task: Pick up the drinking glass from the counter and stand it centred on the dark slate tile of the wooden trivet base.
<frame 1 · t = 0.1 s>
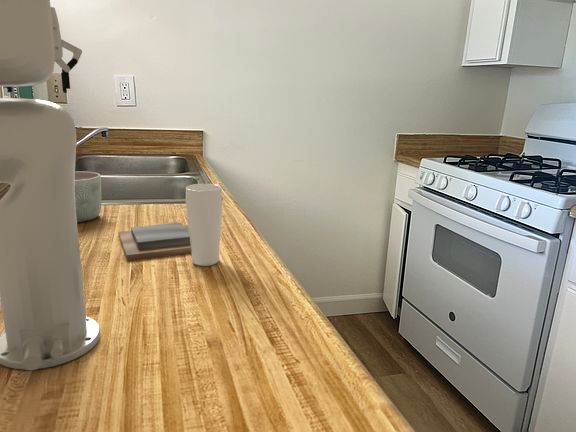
hand: (38, 92, 95), 31 cm above the worktop, fingers open, 9 cm apart
drinking glass: (205, 263, 94), on the worktop
planter: (77, 219, 121), on the worktop
trivet base: (161, 243, 104), on the worktop
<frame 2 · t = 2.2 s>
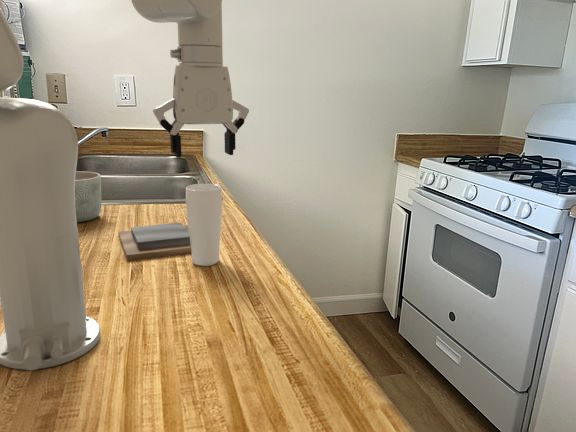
hand: (203, 155, 88), 21 cm above the worktop, fingers open, 9 cm apart
nothing on the worktop moved.
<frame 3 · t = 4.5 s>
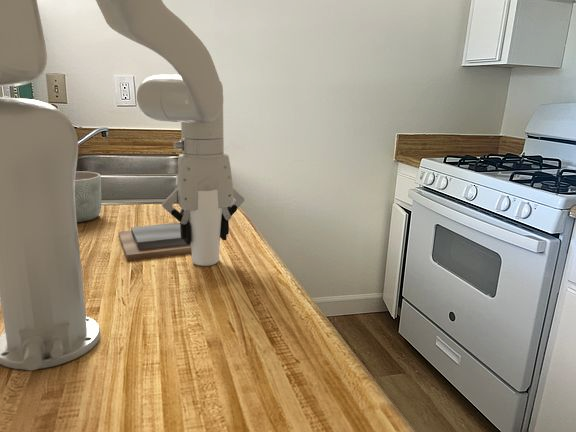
hand: (205, 239, 92), 5 cm above the worktop, fingers closed on drinking glass, 6 cm apart
drinking glass: (205, 263, 94), on the worktop, touching gripper
everything else where it was.
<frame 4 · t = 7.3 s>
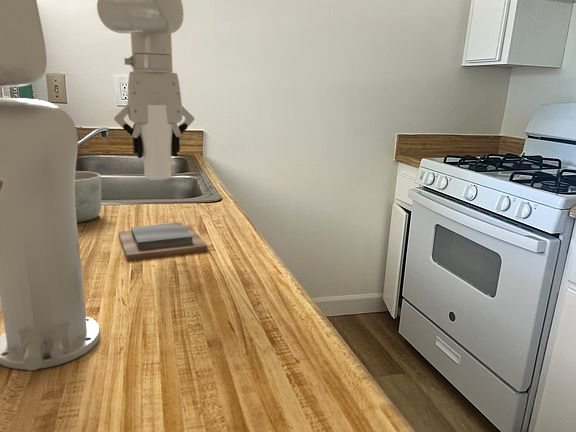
hand: (157, 155, 98), 19 cm above the worktop, fingers closed on drinking glass, 6 cm apart
drinking glass: (158, 178, 100), point 14 cm above the worktop, touching gripper
everything else where it was.
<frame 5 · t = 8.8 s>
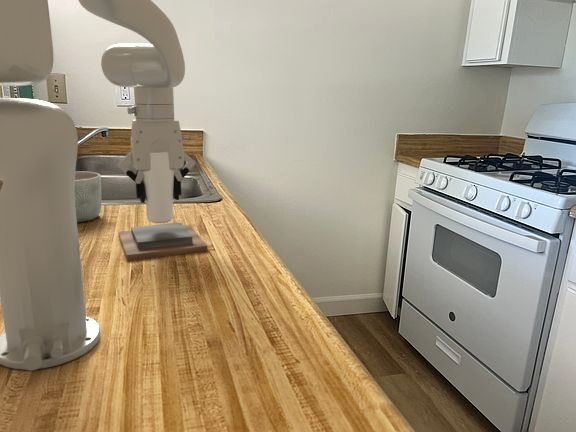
hand: (159, 199, 101), 10 cm above the worktop, fingers closed on drinking glass, 6 cm apart
drinking glass: (160, 221, 102), point 5 cm above the worktop, touching gripper
everything else where it was.
when the fingers open (8 cm above the worktop, at t = 10.1 s): drinking glass stays where it is, resting on trivet base.
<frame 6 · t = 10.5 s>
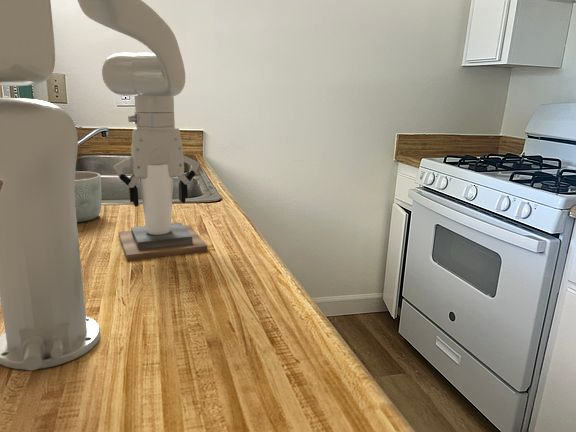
hand: (159, 203, 101), 9 cm above the worktop, fingers open, 9 cm apart
drinking glass: (158, 233, 103), point 3 cm above the worktop, touching trivet base
everything else where it was.
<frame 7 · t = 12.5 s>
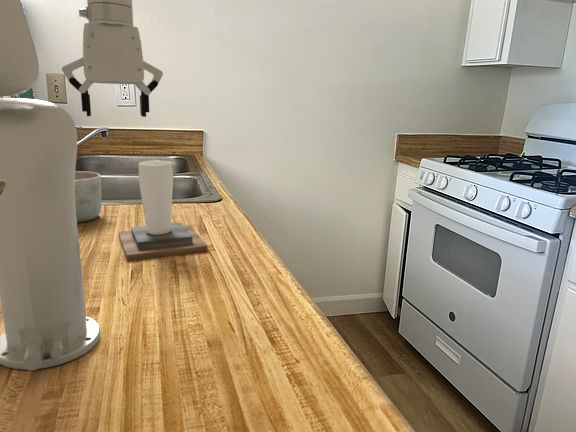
hand: (116, 116, 89), 27 cm above the worktop, fingers open, 9 cm apart
nothing on the worktop moved.
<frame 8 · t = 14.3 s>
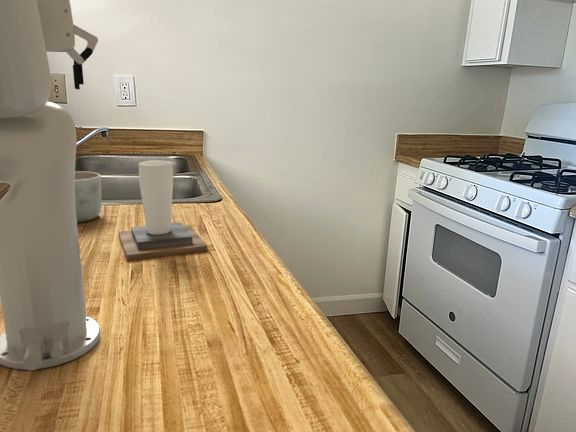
hand: (45, 88, 78), 32 cm above the worktop, fingers open, 9 cm apart
nothing on the worktop moved.
at the end: drinking glass inside the target area on the trivet base (0.5 cm from its centre), point 2.5 cm above the trivet base's base; drinking glass tilted 0°; the gripper is holding nothing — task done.
